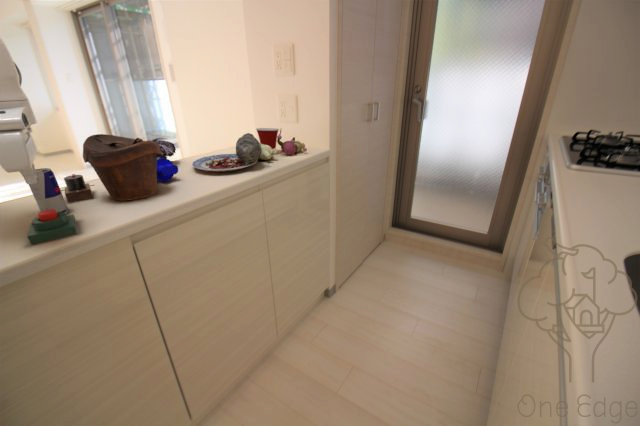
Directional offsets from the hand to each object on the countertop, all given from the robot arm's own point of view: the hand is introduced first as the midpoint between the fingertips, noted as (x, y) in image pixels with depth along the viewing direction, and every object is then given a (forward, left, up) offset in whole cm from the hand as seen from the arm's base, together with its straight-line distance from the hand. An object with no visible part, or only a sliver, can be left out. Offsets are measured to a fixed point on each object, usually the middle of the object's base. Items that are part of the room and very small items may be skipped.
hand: (33, 182), depth 63 cm
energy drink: (0, +13, -13) cm, 18 cm away
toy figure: (+31, +21, -8) cm, 39 cm away
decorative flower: (+30, +42, -9) cm, 53 cm away
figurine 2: (+90, +38, -13) cm, 98 cm away
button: (0, 0, -9) cm, 9 cm away
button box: (0, 0, -12) cm, 12 cm away
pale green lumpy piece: (+73, +23, -8) cm, 77 cm away
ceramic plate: (+54, +29, -12) cm, 63 cm away
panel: (+6, +24, -12) cm, 28 cm away
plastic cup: (+80, +39, -12) cm, 89 cm away
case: (+19, +16, -12) cm, 28 cm away
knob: (+6, +24, -9) cm, 26 cm away
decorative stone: (+59, +27, -4) cm, 65 cm away
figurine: (+96, +34, -7) cm, 102 cm away
